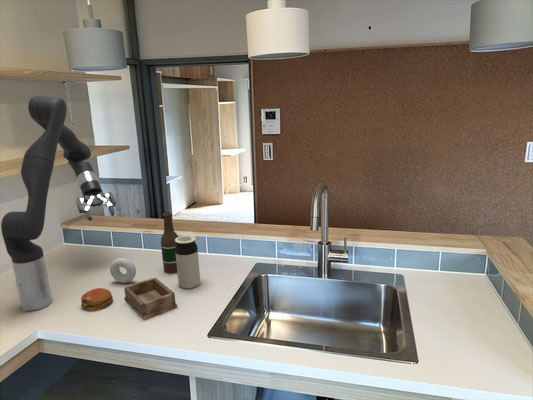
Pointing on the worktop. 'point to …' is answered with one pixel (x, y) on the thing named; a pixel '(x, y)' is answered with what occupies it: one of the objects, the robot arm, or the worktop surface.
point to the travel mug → (187, 261)
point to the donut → (120, 276)
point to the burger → (96, 299)
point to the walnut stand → (150, 298)
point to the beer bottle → (169, 245)
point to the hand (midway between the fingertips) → (102, 217)
